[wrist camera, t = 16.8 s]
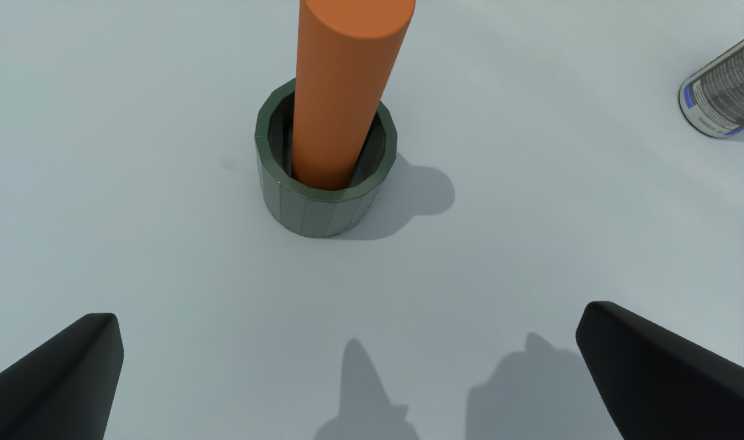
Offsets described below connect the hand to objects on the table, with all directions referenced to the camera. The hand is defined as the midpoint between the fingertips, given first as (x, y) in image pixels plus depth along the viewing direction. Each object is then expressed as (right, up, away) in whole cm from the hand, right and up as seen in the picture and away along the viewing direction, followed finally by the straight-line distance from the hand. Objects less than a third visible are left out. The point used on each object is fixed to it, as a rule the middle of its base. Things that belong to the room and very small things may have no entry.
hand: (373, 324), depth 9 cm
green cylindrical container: (-3, +4, +14) cm, 15 cm away
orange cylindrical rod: (-3, +4, +14) cm, 15 cm away
